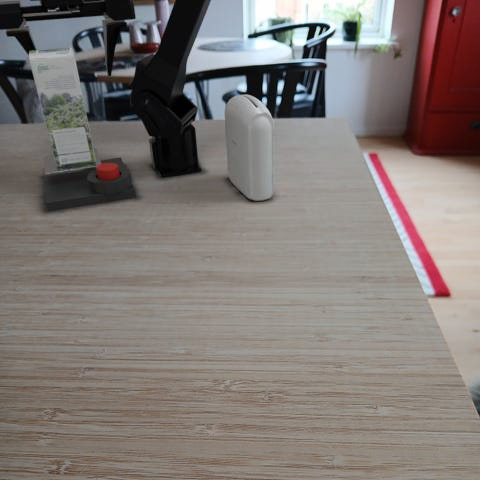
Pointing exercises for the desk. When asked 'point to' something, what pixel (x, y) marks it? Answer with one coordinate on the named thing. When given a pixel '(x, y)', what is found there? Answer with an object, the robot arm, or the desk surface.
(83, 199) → the dark grey flat piece
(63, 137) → the syrup box
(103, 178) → the button
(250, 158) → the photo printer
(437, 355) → the desk surface
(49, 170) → the weighing pan
